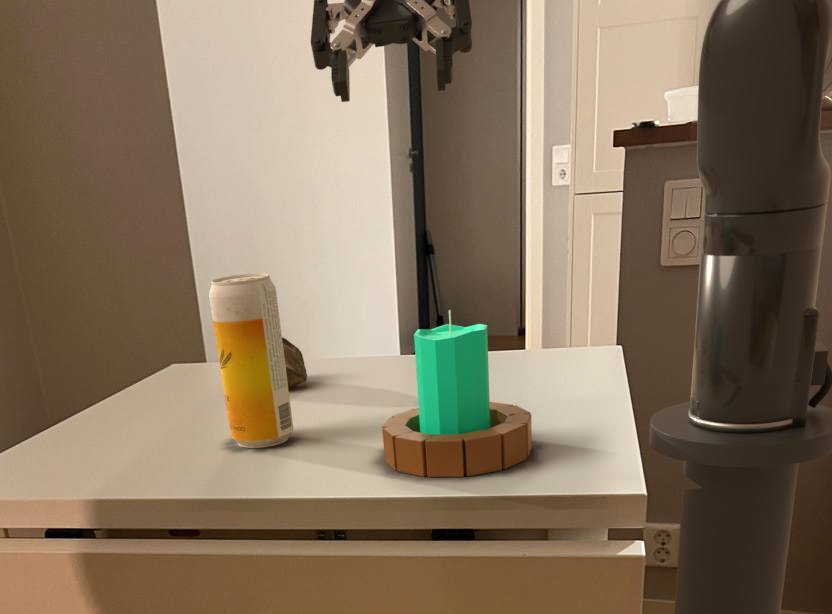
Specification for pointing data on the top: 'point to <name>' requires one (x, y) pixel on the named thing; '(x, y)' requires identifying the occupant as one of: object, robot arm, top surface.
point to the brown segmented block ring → (458, 444)
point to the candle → (453, 379)
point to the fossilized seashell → (293, 364)
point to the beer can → (251, 359)
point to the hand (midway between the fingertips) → (392, 88)
